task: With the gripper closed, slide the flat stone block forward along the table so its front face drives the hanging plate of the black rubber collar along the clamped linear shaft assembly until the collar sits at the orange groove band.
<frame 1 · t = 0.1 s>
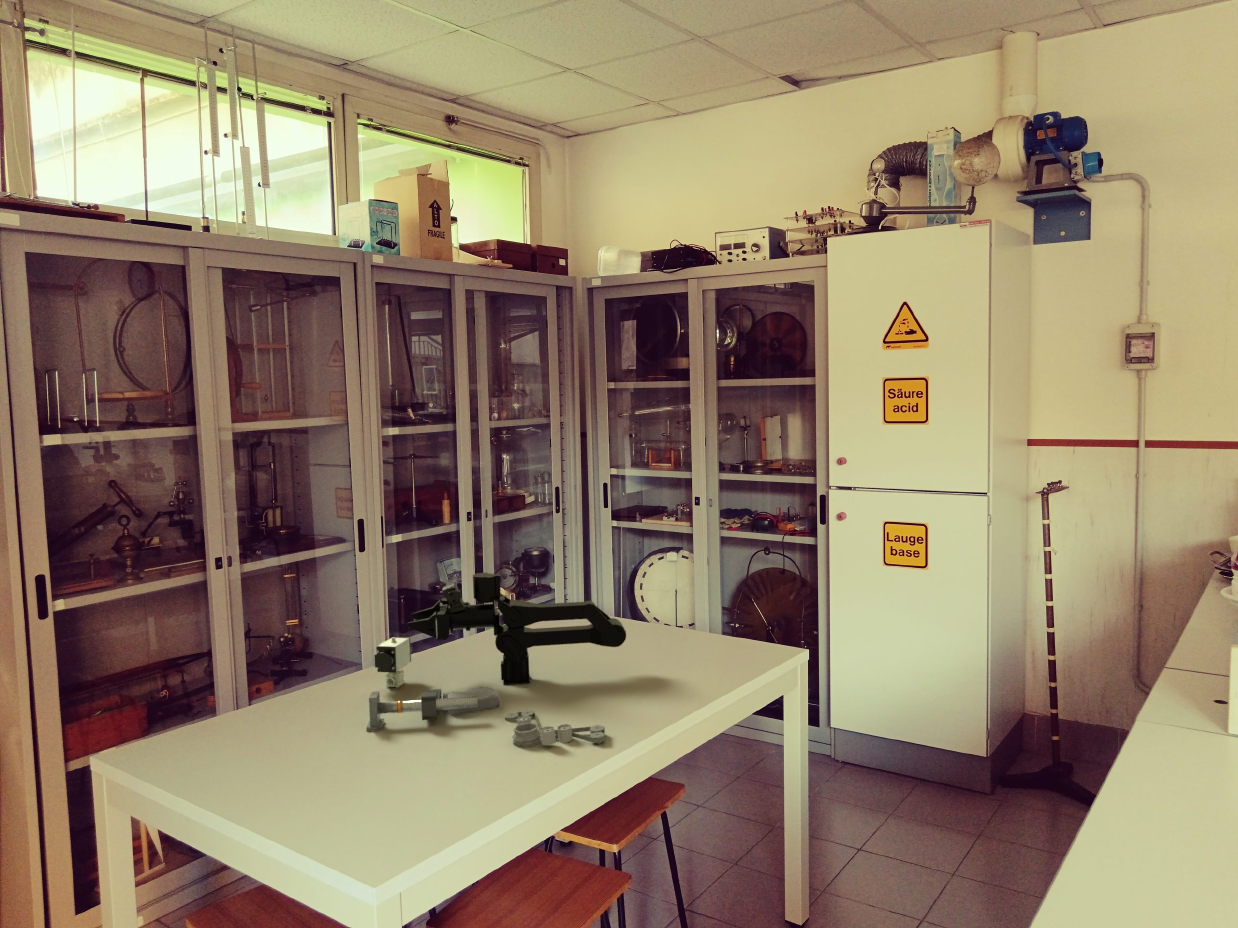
hand: (409, 620, 218), 17 cm above the table, tool horizontal, fingers open, 9 cm apart
collar: (431, 698, 199), point 4 cm above the table, slide at 0.2 cm
linear shaft assembly: (429, 722, 195), on the table
stone block: (469, 707, 206), on the table
pneumatic valve: (393, 686, 221), on the table
pulley system: (542, 738, 187), on the table
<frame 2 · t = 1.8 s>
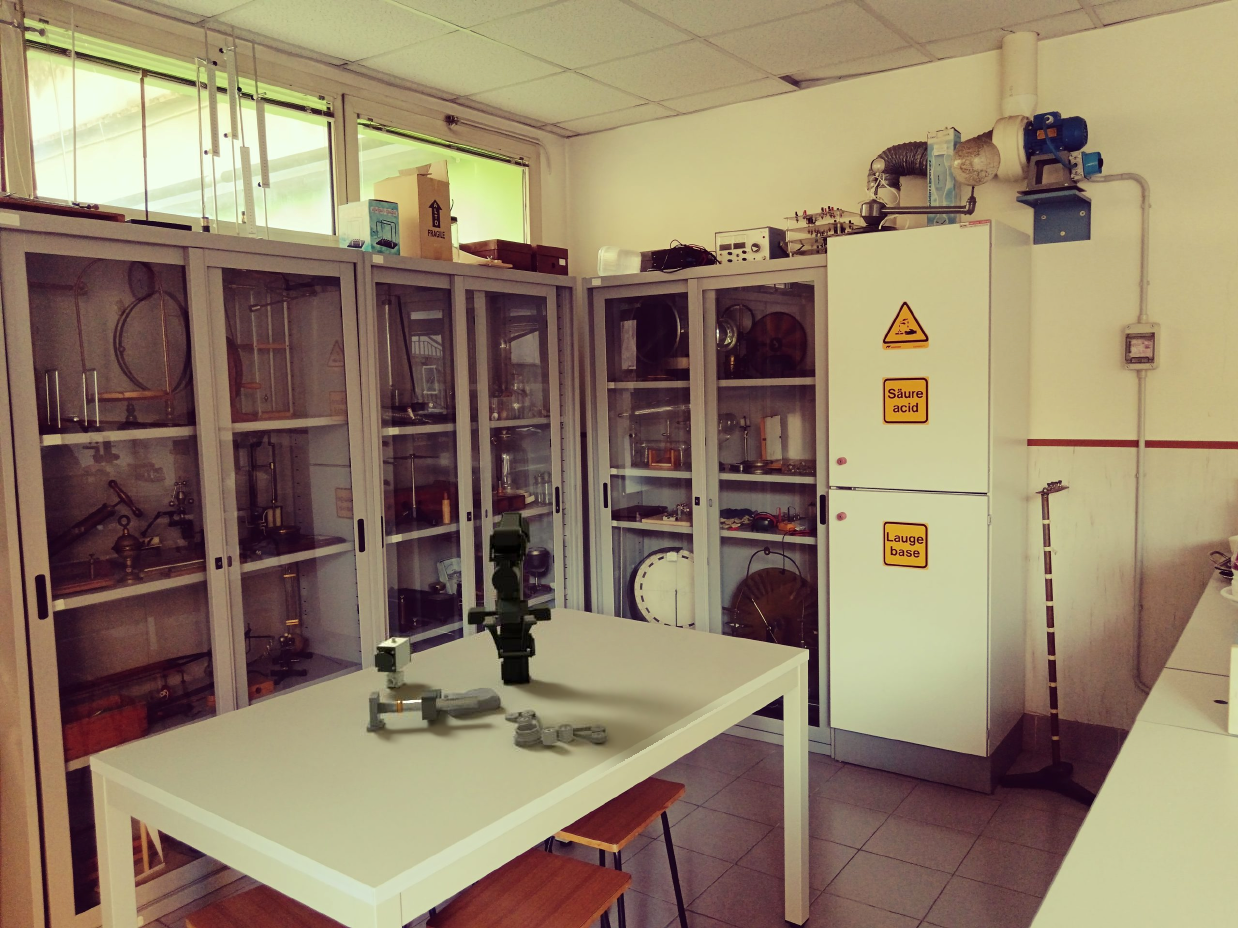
hand: (510, 650, 206), 12 cm above the table, tool pointing down, fingers open, 5 cm apart
nothing on the table moved.
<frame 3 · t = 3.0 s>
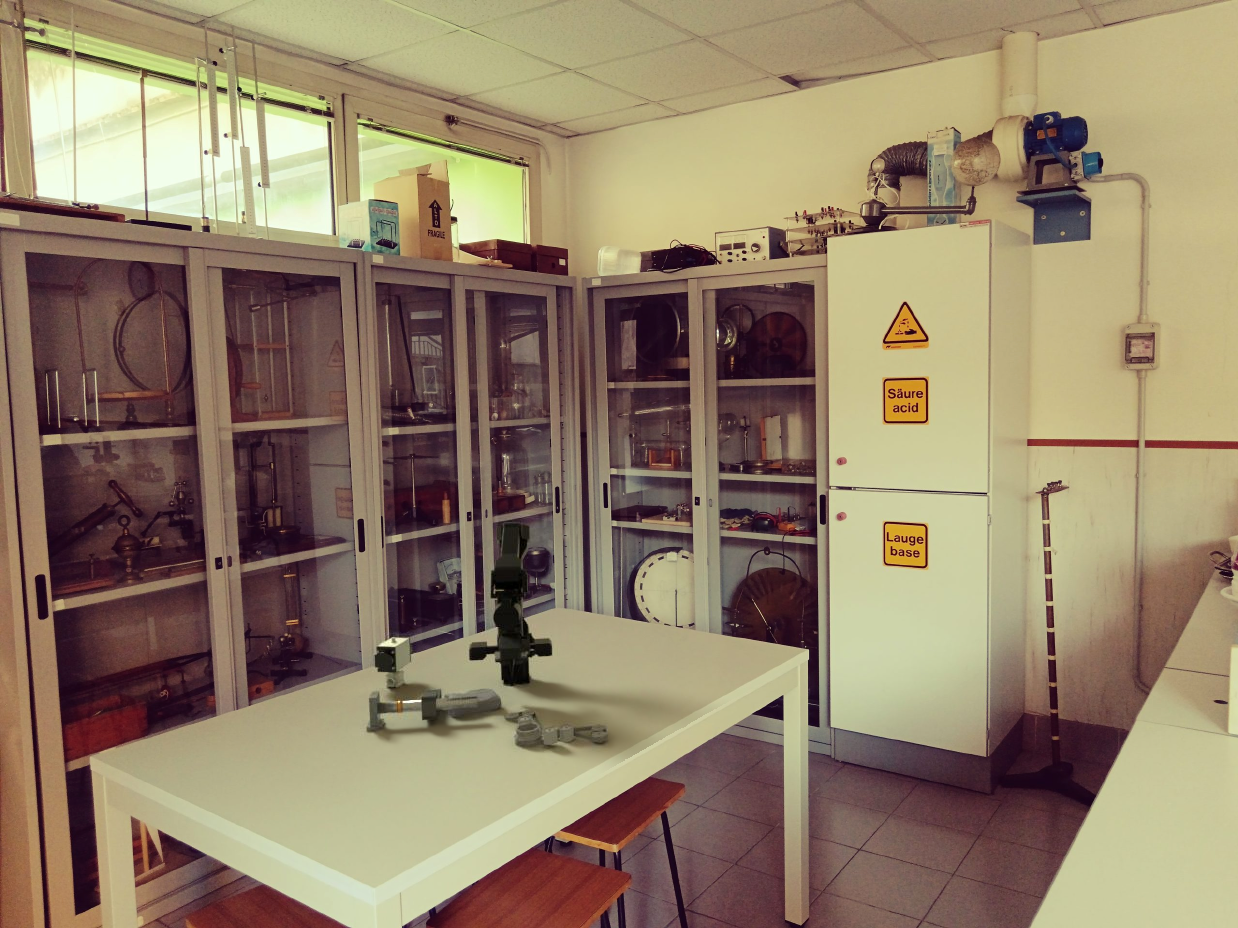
hand: (512, 685, 207), 4 cm above the table, tool pointing down, fingers closed
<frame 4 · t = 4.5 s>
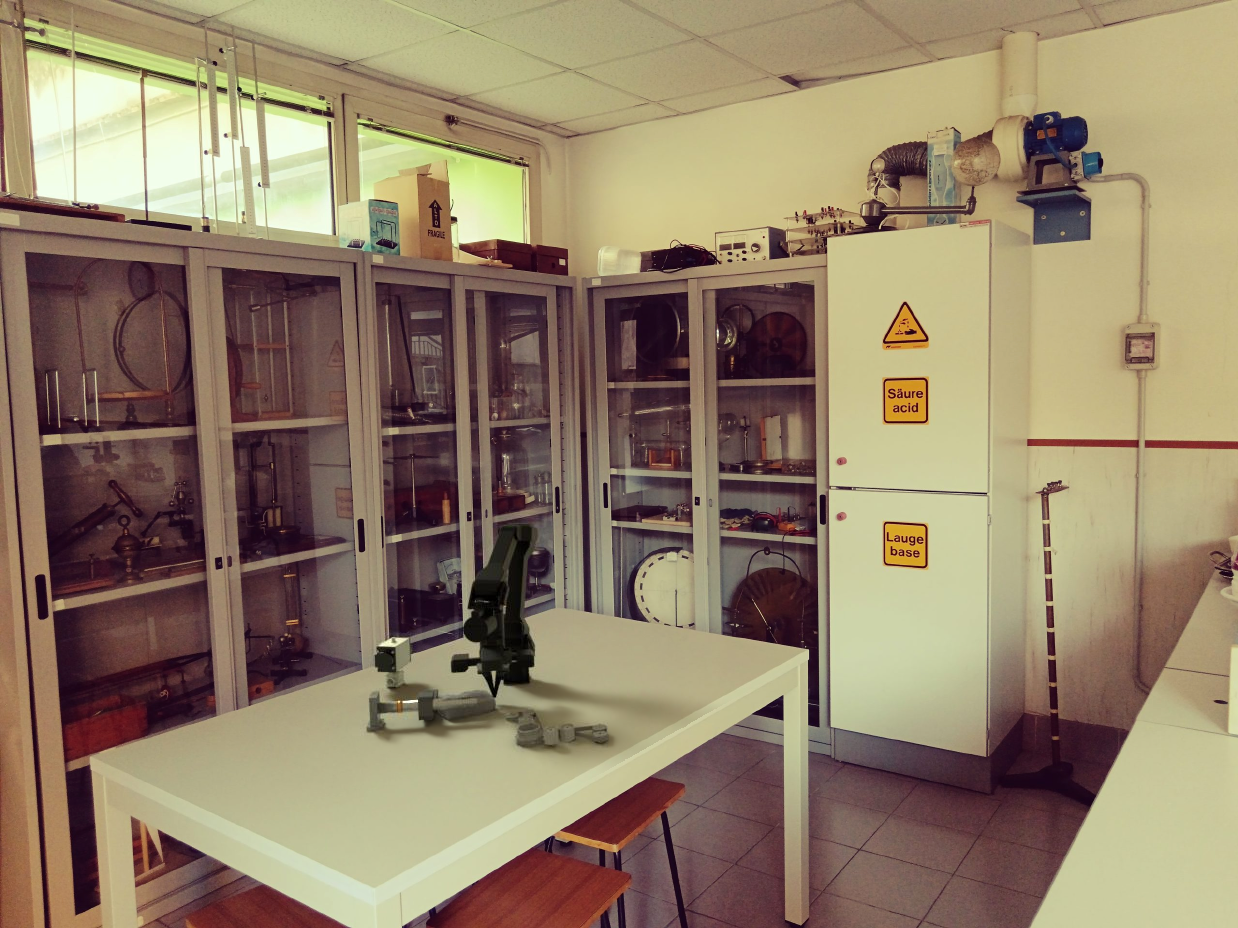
hand: (494, 697, 206), 1 cm above the table, tool pointing down, fingers closed
collar: (428, 699, 199), point 4 cm above the table, slide at 0.9 cm, touching stone block
stone block: (465, 710, 203), on the table, touching collar, gripper
everything else where it was.
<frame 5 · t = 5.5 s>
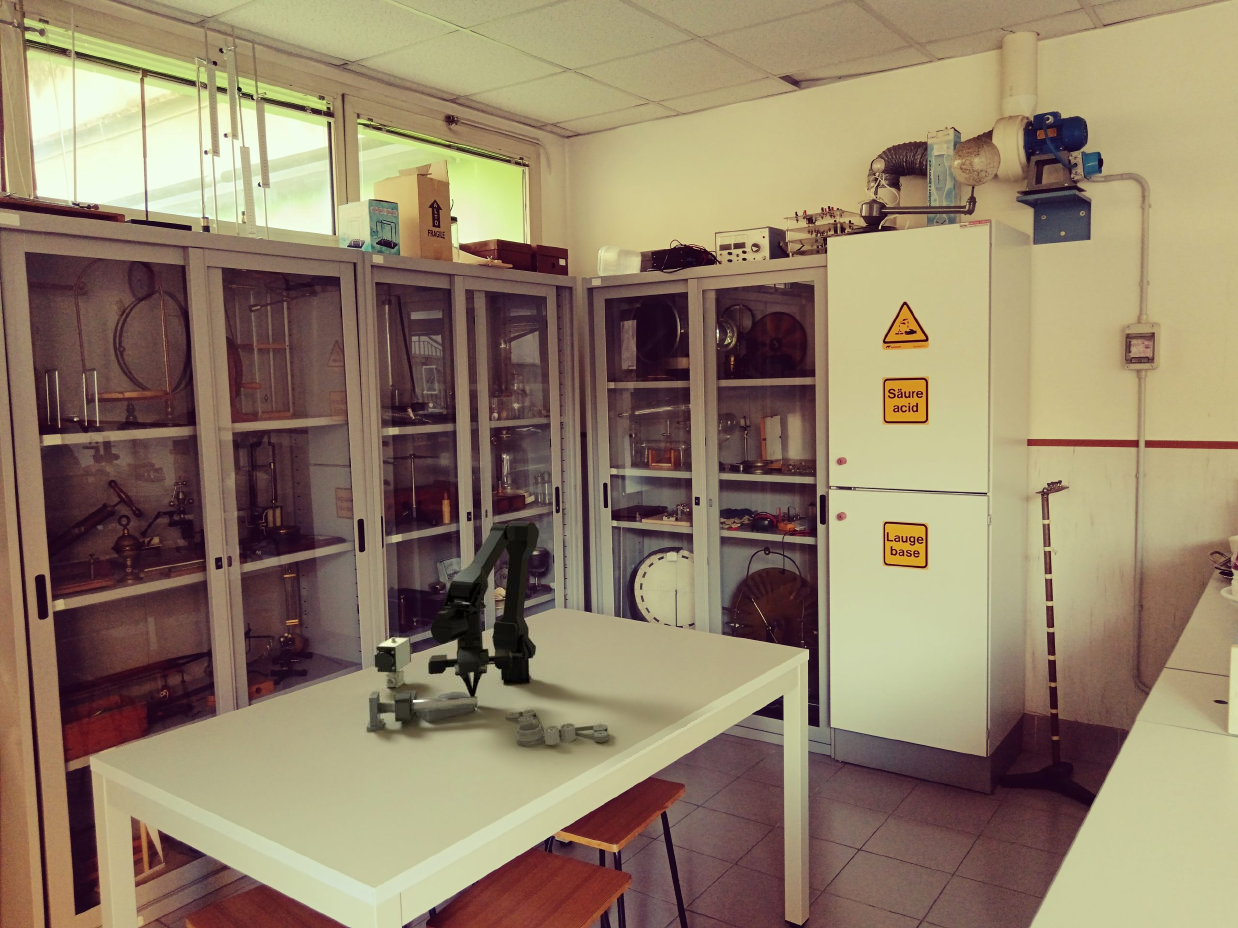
hand: (472, 698, 206), 1 cm above the table, tool pointing down, fingers closed
collar: (406, 700, 199), point 4 cm above the table, slide at 5.8 cm
stone block: (443, 712, 202), on the table, touching gripper, linear shaft assembly
everything else where it was.
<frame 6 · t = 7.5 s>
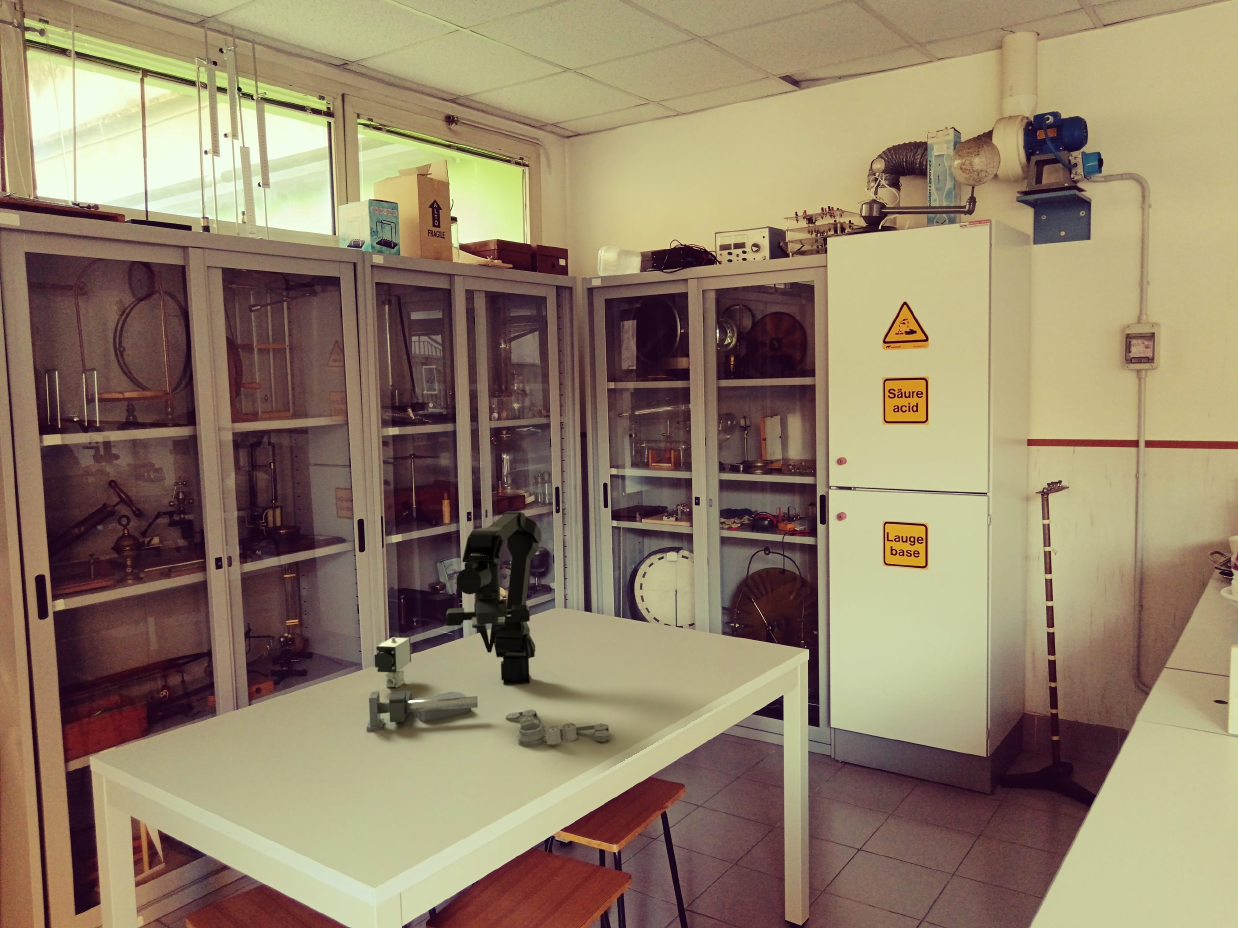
hand: (489, 652, 206), 12 cm above the table, tool pointing down, fingers closed
collar: (400, 700, 199), point 4 cm above the table, slide at 6.9 cm
stone block: (440, 713, 202), on the table
everything else where it was.
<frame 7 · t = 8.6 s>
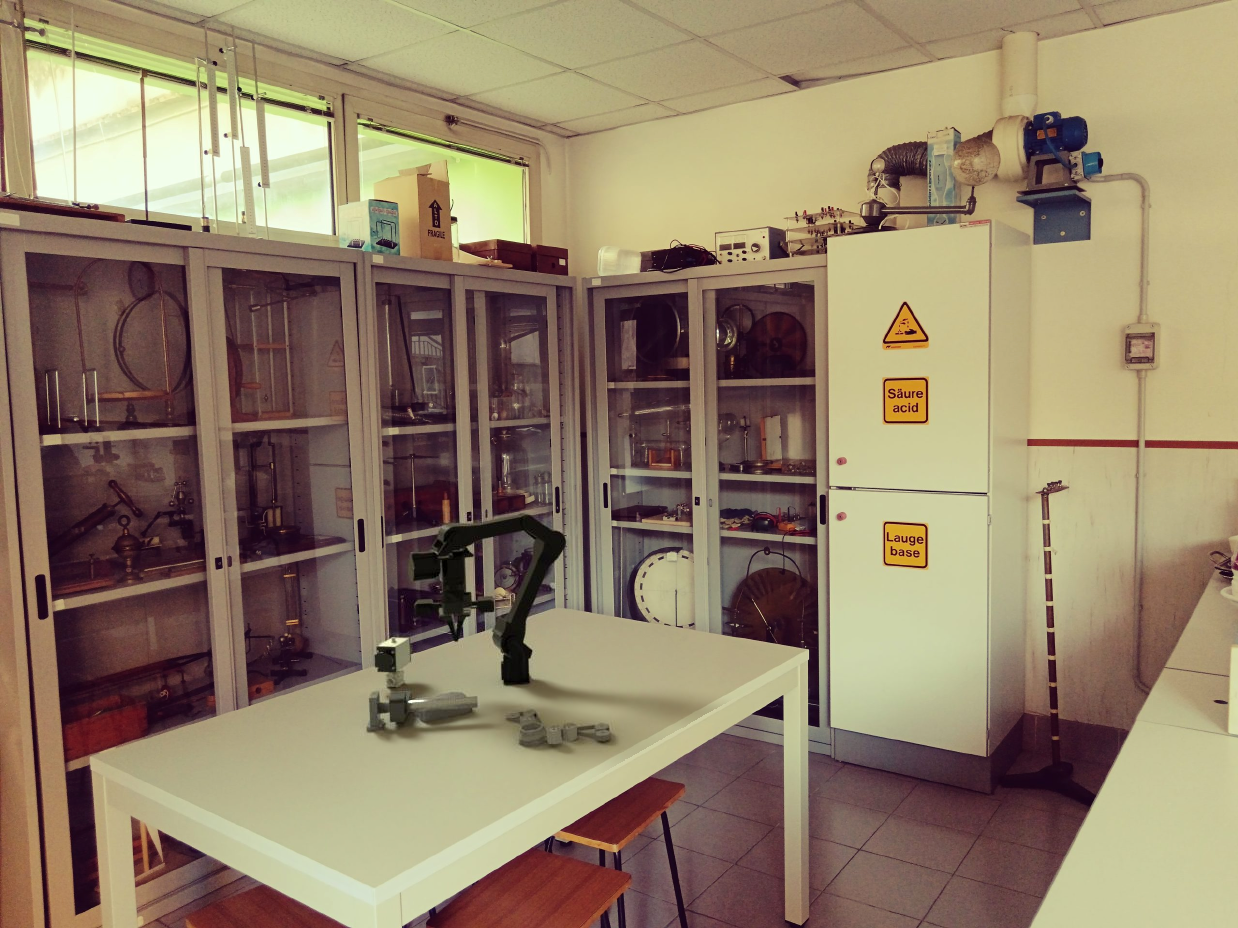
hand: (456, 641, 215), 12 cm above the table, tool pointing down, fingers closed
nothing on the table moved.
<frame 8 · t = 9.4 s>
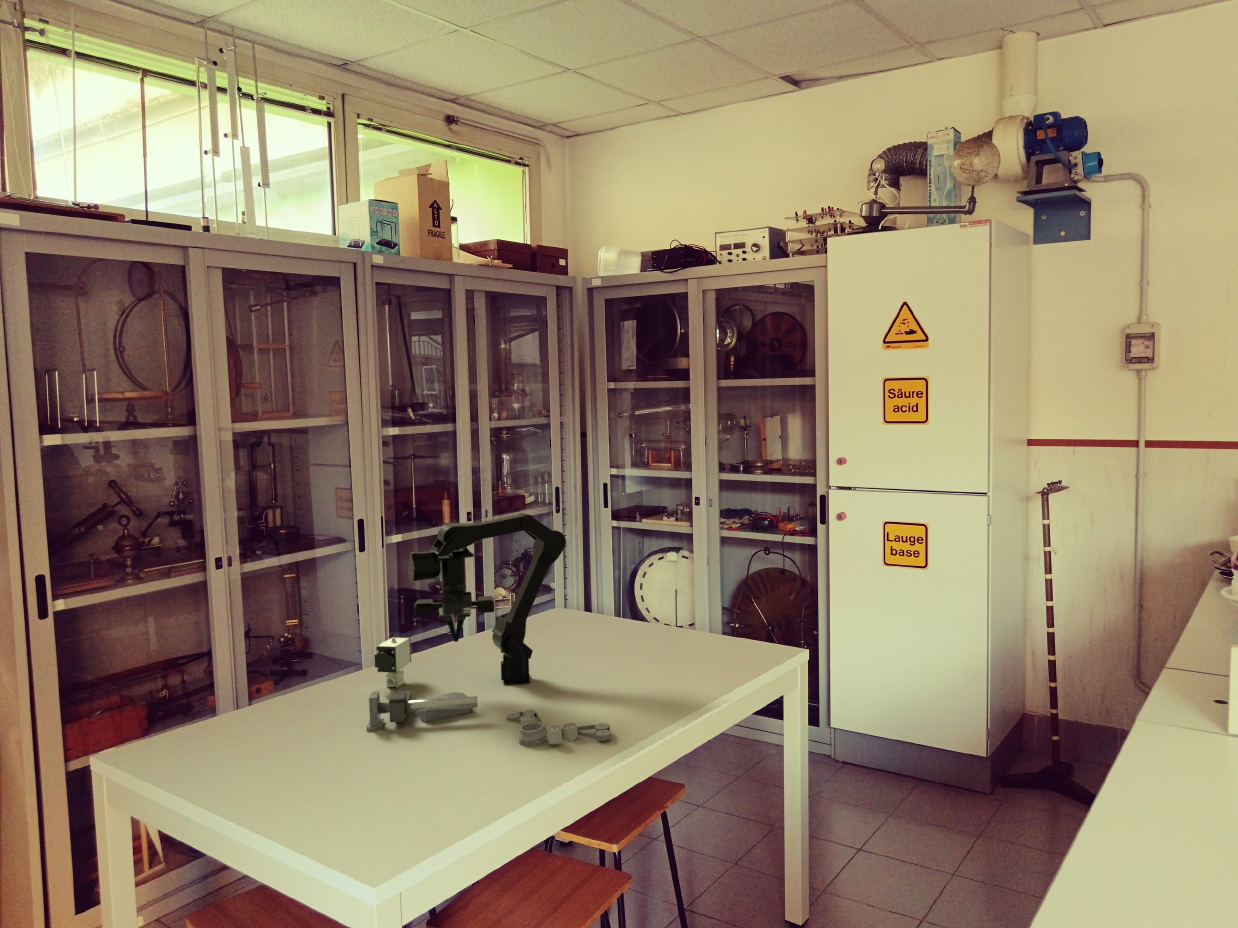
hand: (456, 641, 215), 12 cm above the table, tool pointing down, fingers closed
at the end: collar slide at 6.9 cm; stone block moved 6.5 cm from its start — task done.
